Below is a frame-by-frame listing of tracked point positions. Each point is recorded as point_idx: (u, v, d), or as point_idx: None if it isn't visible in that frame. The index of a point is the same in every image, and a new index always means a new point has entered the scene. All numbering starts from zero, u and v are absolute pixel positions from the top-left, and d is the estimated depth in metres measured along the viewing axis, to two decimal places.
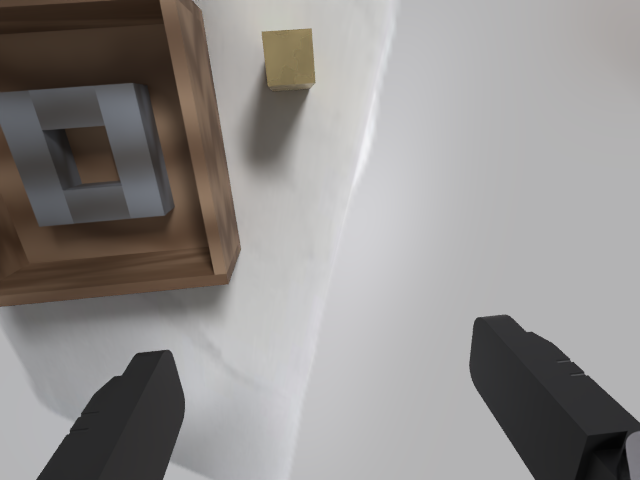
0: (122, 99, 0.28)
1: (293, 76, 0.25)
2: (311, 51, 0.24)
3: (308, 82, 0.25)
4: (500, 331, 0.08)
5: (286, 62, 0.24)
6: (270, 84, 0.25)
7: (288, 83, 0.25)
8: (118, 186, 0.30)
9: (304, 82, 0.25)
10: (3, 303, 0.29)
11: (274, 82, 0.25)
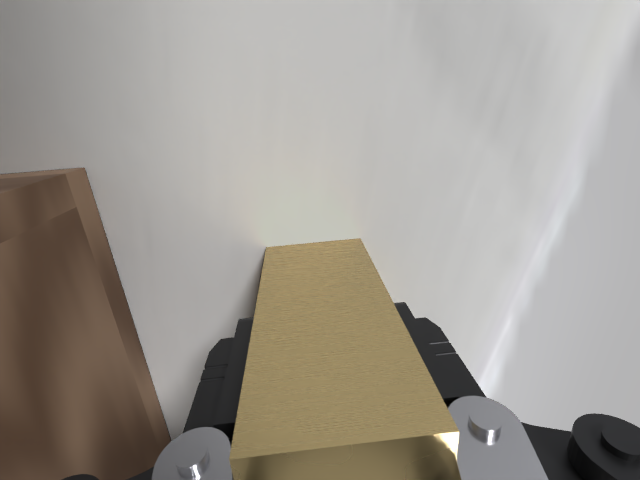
0: None
1: None
2: None
3: None
4: None
5: None
6: None
7: None
8: None
9: None
10: None
11: None
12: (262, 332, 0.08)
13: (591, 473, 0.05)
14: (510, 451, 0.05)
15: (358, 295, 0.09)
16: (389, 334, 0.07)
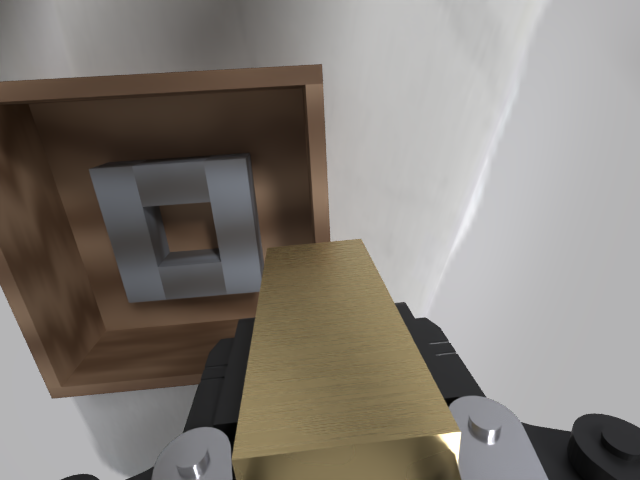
0: (232, 176, 0.26)
1: None
2: None
3: None
4: None
5: None
6: None
7: None
8: (217, 262, 0.28)
9: None
10: (96, 391, 0.27)
11: None
12: (264, 333, 0.08)
13: (591, 473, 0.05)
14: (510, 451, 0.05)
15: (359, 295, 0.09)
16: (390, 334, 0.07)
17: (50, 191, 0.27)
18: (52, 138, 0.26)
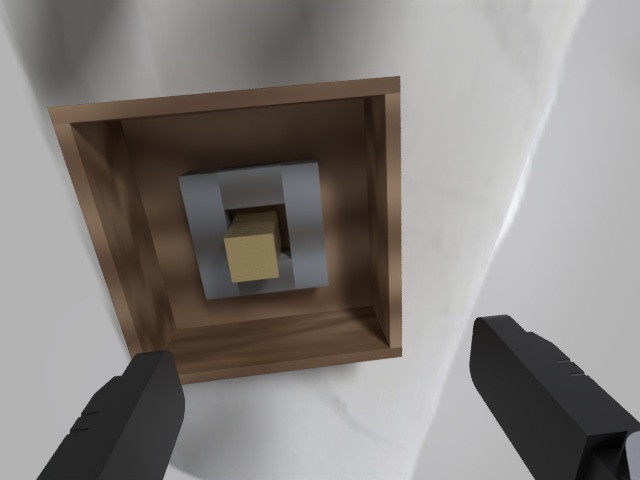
0: (306, 178, 0.28)
1: (257, 273, 0.25)
2: (273, 252, 0.25)
3: (272, 277, 0.25)
4: (500, 331, 0.08)
5: (249, 262, 0.25)
6: (234, 280, 0.25)
7: (252, 279, 0.25)
8: (288, 259, 0.30)
9: (268, 277, 0.25)
10: (182, 381, 0.29)
11: (238, 279, 0.25)
12: (233, 225, 0.27)
13: None
14: None
15: (265, 217, 0.28)
16: (269, 223, 0.27)
17: (136, 199, 0.30)
18: (139, 150, 0.29)
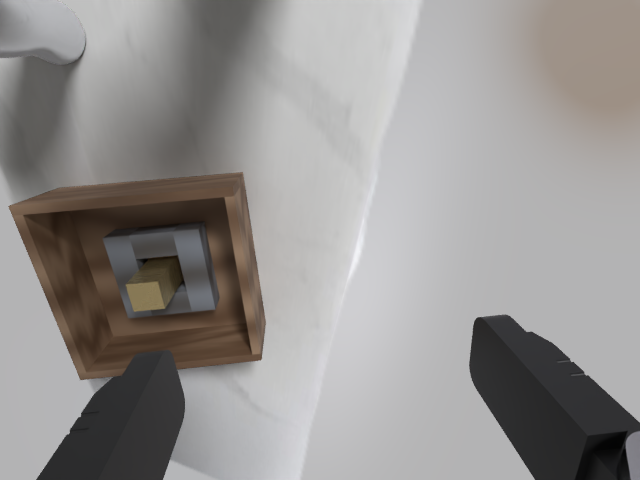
0: (191, 239, 0.41)
1: (150, 305, 0.39)
2: (159, 292, 0.38)
3: (160, 308, 0.39)
4: (500, 331, 0.08)
5: (144, 299, 0.38)
6: (135, 310, 0.39)
7: (147, 309, 0.39)
8: (184, 291, 0.44)
9: (157, 308, 0.39)
10: (108, 375, 0.43)
11: (137, 309, 0.39)
12: (138, 272, 0.40)
13: None
14: None
15: (163, 265, 0.41)
16: (161, 271, 0.40)
17: (78, 249, 0.43)
18: (79, 216, 0.42)
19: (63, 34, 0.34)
